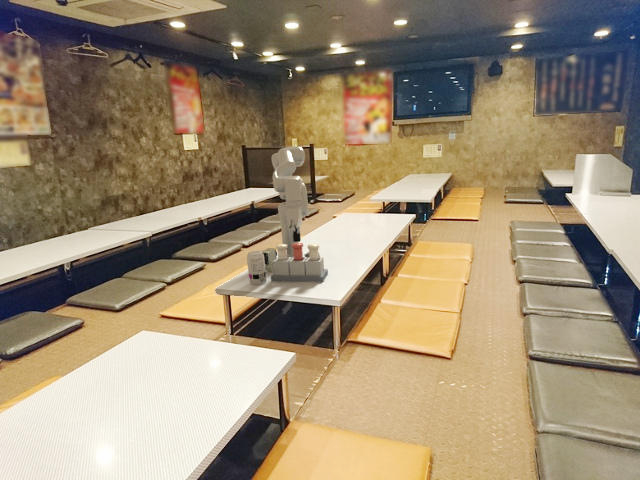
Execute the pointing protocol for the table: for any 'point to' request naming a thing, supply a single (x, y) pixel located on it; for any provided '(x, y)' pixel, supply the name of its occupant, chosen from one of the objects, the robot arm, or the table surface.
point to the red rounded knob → (297, 251)
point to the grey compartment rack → (299, 270)
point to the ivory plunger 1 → (282, 252)
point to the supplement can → (256, 268)
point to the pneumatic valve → (269, 258)
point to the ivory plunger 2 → (313, 252)
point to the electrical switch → (309, 255)
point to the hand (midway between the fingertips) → (297, 241)
